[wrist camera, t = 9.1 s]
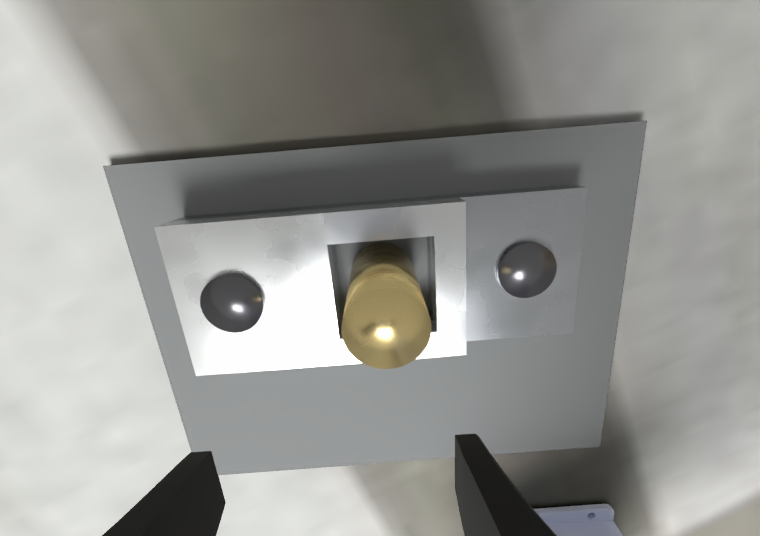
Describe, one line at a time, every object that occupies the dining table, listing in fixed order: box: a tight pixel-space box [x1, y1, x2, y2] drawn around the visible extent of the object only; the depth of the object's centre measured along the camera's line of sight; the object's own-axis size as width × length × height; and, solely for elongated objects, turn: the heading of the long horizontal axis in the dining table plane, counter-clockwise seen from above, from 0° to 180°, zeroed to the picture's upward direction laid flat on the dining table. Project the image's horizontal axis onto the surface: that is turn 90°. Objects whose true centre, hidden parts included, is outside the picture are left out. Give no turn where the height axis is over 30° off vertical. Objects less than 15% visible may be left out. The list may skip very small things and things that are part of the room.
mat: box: [103, 121, 647, 475], centre depth 19 cm, size 24×18×1 cm
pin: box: [341, 242, 432, 369], centre depth 15 cm, size 3×3×6 cm
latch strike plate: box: [154, 185, 588, 376], centre depth 16 cm, size 18×7×3 cm, turn 95°
